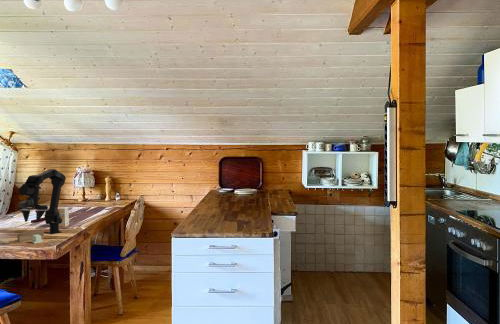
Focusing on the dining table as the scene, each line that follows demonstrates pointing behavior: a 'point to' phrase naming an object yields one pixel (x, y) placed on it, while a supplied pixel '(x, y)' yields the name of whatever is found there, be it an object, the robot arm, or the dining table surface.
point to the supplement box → (64, 216)
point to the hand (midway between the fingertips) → (31, 221)
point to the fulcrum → (36, 239)
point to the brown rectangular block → (29, 235)
